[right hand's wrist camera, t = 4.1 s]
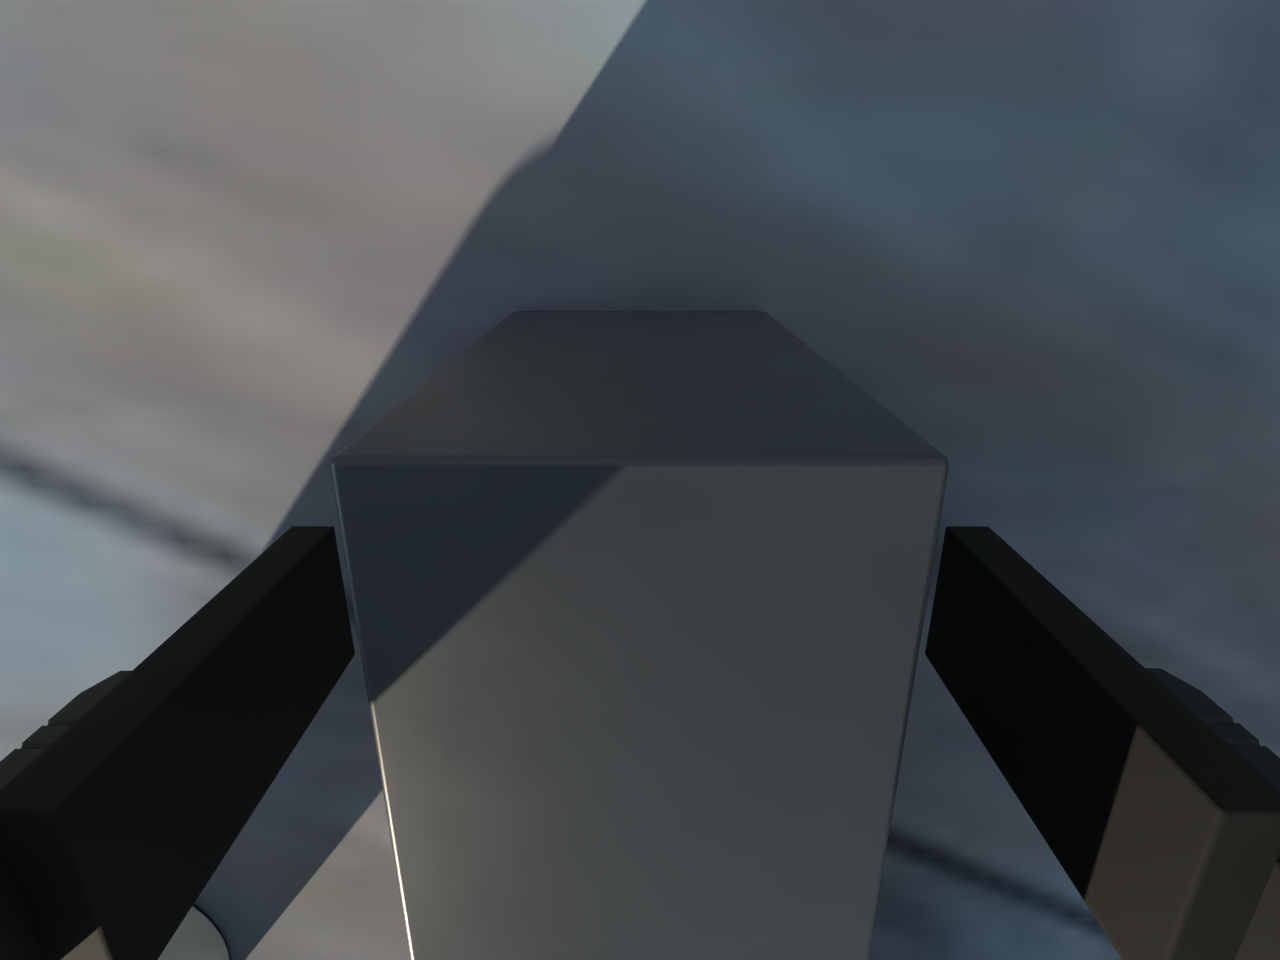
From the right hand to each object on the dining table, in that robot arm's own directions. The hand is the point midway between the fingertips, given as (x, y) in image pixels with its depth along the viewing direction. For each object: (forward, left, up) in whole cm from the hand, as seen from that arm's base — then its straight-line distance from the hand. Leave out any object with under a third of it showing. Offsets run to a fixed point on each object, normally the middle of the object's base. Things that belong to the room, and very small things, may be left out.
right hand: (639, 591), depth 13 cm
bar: (+9, 0, -1) cm, 9 cm away
